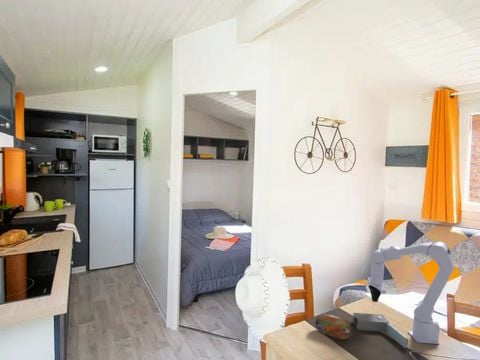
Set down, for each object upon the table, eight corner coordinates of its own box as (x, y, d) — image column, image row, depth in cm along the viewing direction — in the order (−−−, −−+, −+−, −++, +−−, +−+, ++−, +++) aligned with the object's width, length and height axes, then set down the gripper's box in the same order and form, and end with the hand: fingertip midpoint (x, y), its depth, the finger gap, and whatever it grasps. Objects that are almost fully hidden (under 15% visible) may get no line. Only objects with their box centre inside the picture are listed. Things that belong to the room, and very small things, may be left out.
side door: (386, 332, 132) (387, 323, 132) (389, 332, 132) (389, 323, 132) (404, 348, 121) (405, 338, 121) (407, 347, 122) (408, 337, 121)
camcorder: (381, 323, 140) (382, 313, 139) (388, 332, 133) (389, 321, 132) (350, 321, 140) (351, 311, 140) (355, 329, 133) (356, 319, 133)
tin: (314, 331, 131) (316, 313, 130) (316, 327, 134) (317, 310, 133) (349, 342, 124) (351, 323, 123) (350, 338, 127) (352, 320, 126)
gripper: (362, 268, 148) (360, 294, 149) (376, 280, 134) (373, 308, 135) (376, 269, 148) (373, 294, 149) (391, 280, 134) (388, 309, 135)
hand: (374, 301), depth 142 cm, fingers closed
